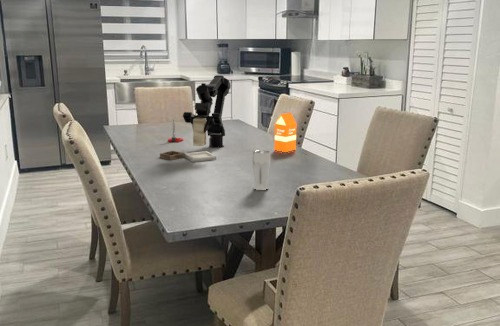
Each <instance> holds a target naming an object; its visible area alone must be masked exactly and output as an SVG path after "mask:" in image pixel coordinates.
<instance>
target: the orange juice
mask: <svg viewBox="0 0 500 326" xmlns="http://www.w3.org/2000/svg"><path fill="white" fill-rule="evenodd" d="M296 147H297V122H296V120H295V118H294V116H293V114H292V112H288V113H281V114H280V115H279V117H278V118H277V120H276V121H275V123H274V150H277V151H282V152H288V151H292V150H296ZM277 151H276V152H277ZM282 152H281V153H282ZM292 152H293V151H292ZM288 153H289V152H288Z"/></svg>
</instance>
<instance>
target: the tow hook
mask: <svg viewBox="0 0 500 326" xmlns="http://www.w3.org/2000/svg"><path fill="white" fill-rule="evenodd" d="M175 128H176V123H175V119H172V134H171V135H172V137H171V138H168V139H167V142H170V143H180V142H183V141H184V138H182V137H181V138H180V137H176V131H175V130H176V129H175Z"/></svg>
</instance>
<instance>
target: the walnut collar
mask: <svg viewBox="0 0 500 326" xmlns="http://www.w3.org/2000/svg"><path fill="white" fill-rule="evenodd" d="M159 158H160V159H161V158H162V159H166V160H168V161H169V160H170V161H174V160H178V159H181V158H185V152H181V151H176V150H170V151H164V152H161V153H159Z"/></svg>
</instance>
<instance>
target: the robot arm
mask: <svg viewBox="0 0 500 326" xmlns="http://www.w3.org/2000/svg"><path fill="white" fill-rule="evenodd" d="M230 90H231V82H230V80H229V79H227V78H226V77H225V76H224V75H214V76H213V78H212V80H210V82H209V83H208V84H206V83H201V85H198V86H197V87H196V88H195V91H196V94H197V96H198V99H199V100H200V102H195V103H194V111H195V113H196V114H194V113H192V111H184V112H183V114H182V118H183V120H184V122H185V123H187V124H188V123H189V124H191V126H192V128H193V119H195V118H206V125H205V128H204V133H205V132H206V134H207V136H208V137H209V143H208V146H209V147H211V148H213V149H214V148H217V149H218V148H223V147H225V145H224V143H223V141H224V139H223V138H224V137H225V136H226V130H225V127H224V124H223V122H222V121H223V120H222V115H223V112H224V111H223V110H224V104H225V99H226V96H227V95H228V94H229V93H230ZM213 98H215V103H213ZM213 104H214V107H213V108H214V109H213V112H212V113H211V111H212V110H211V109H212V105H213ZM210 114H211V115H210Z"/></svg>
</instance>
